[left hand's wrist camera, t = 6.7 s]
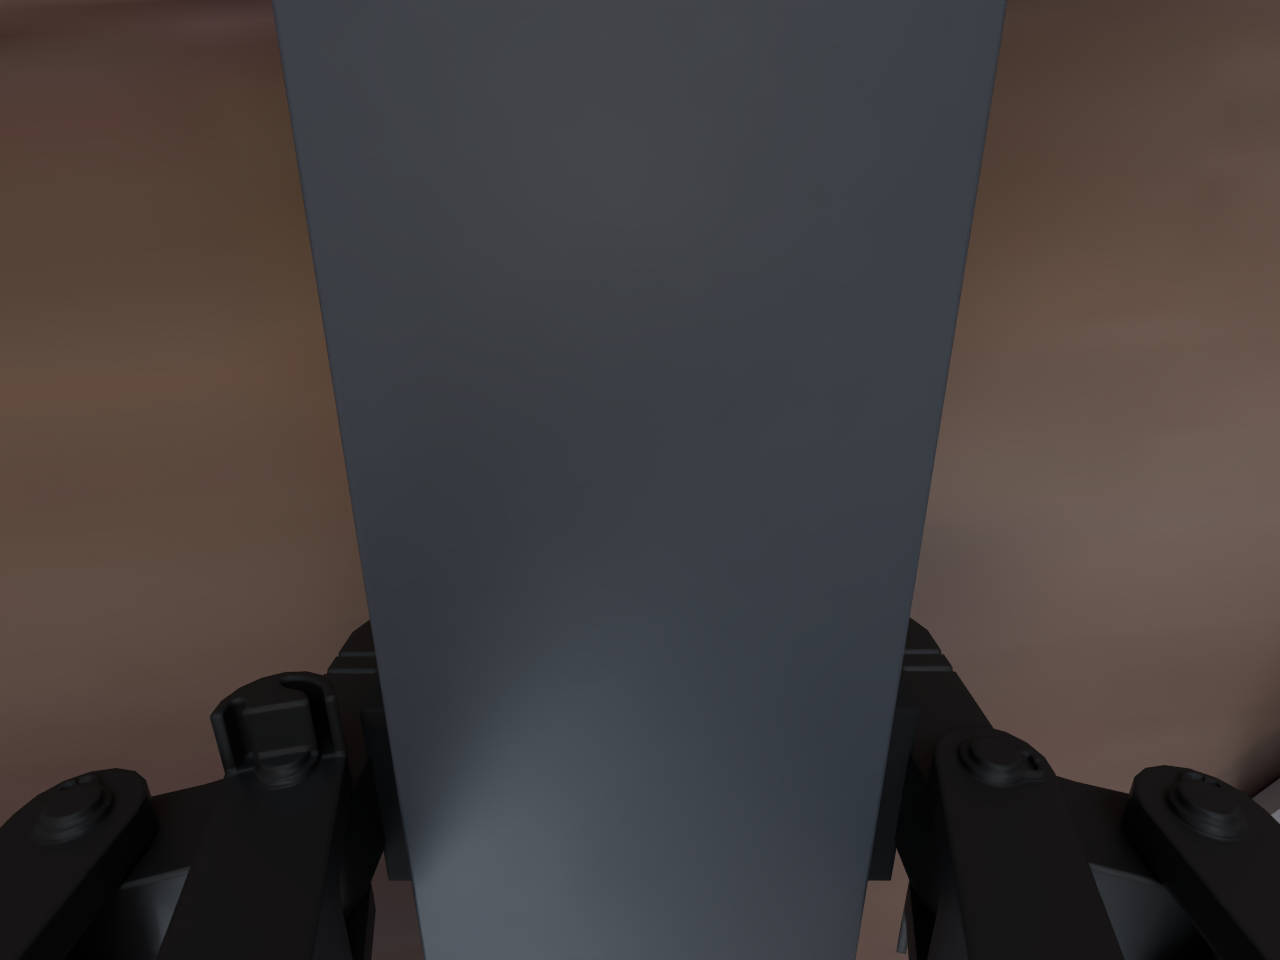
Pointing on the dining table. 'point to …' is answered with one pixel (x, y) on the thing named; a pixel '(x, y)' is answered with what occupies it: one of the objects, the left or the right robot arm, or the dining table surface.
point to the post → (639, 438)
